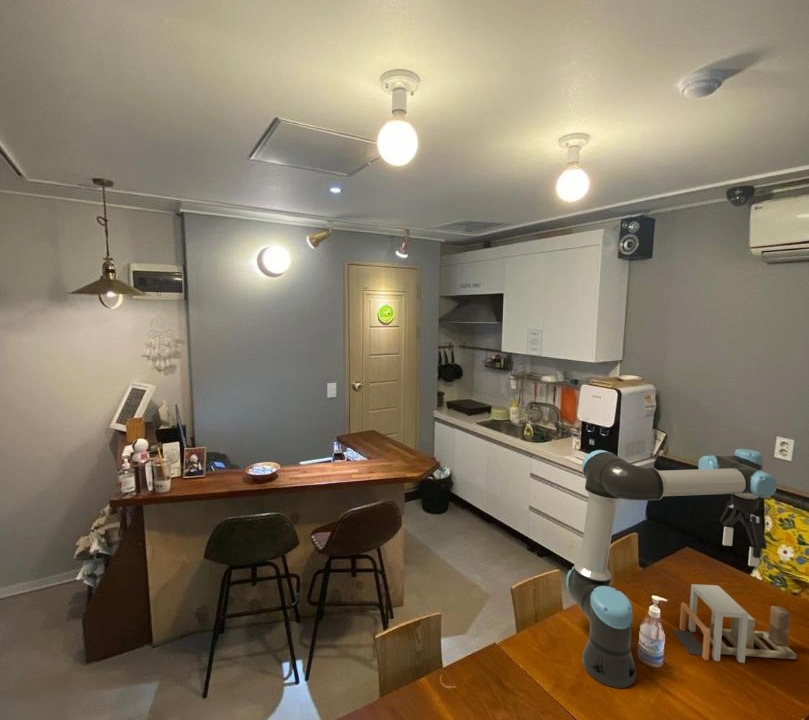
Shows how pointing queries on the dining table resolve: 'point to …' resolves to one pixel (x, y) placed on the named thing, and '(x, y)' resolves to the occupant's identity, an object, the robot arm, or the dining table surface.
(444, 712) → the dining table surface
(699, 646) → the pit mat
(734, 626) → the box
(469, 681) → the dining table surface
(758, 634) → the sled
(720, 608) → the grey and orange stand
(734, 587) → the dining table surface
